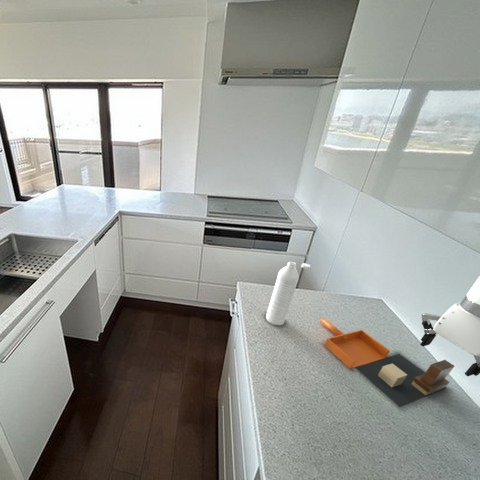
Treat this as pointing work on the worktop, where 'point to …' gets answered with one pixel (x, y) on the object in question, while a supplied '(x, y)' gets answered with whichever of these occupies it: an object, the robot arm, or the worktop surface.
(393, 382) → the clay clod
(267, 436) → the worktop surface
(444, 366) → the brush
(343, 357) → the dustpan
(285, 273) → the water bottle
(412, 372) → the mat
